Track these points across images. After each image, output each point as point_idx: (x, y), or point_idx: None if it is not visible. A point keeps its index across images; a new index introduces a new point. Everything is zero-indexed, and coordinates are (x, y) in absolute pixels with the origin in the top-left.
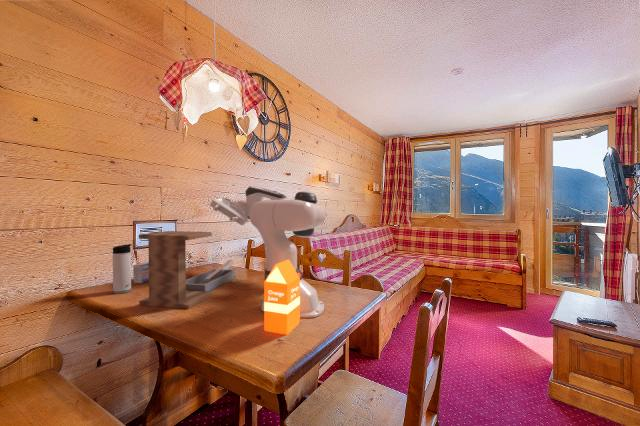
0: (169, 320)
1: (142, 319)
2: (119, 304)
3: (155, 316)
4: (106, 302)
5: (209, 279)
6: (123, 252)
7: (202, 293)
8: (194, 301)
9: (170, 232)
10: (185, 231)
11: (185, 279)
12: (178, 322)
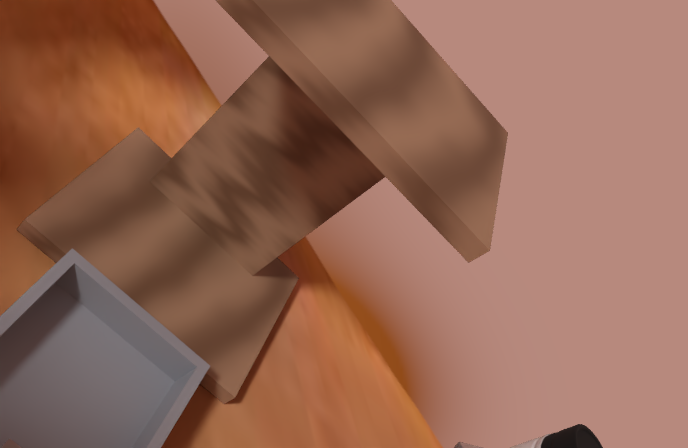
0: (181, 93)
1: None
2: (346, 333)
3: None
4: (389, 382)
5: (8, 442)
6: (548, 435)
7: (76, 223)
8: (117, 144)
9: (440, 139)
10: (388, 142)
11: (200, 128)
12: (157, 62)
